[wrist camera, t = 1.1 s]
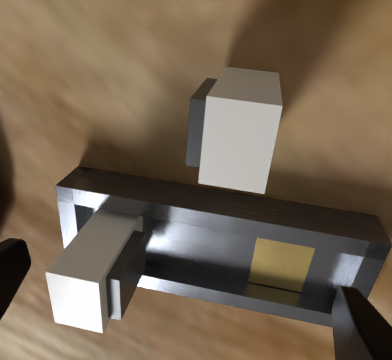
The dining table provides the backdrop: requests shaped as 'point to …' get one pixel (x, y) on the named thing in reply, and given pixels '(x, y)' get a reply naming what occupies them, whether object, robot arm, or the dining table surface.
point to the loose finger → (235, 128)
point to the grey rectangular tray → (235, 243)
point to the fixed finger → (98, 271)
